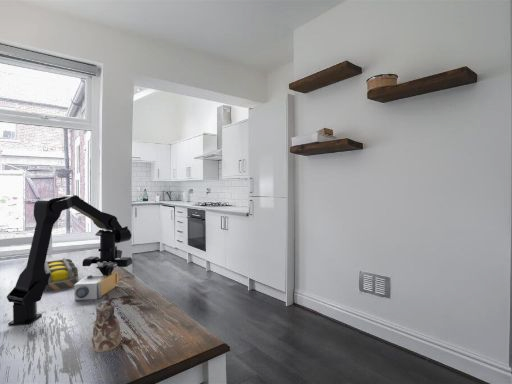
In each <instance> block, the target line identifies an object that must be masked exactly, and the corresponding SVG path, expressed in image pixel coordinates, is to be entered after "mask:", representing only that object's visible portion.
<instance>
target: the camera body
mask: <svg viewBox="0 0 512 384" xmlns="http://www.w3.org/2000/svg"><path fill="white" fill-rule="evenodd" d="M106 277H107V276H103V275H91V274H90V275H87V276H85V277H83V278H82V279H80V280H78V282H77V283H76V284H74V286H73V287H74V288H73V290H74V292H73V293H74V295H73V296H74V301H82V300H85V301H86V300H97V299H99V298H98V282H99V281H101V280H103V279H104V278H106Z"/></svg>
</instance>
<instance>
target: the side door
mask: <svg viewBox="0 0 512 384" xmlns="http://www.w3.org/2000/svg"><path fill="white" fill-rule="evenodd" d="M119 275H120V274H119V273H118V271H114V272H112V274H111V275H109V276H107V277H106V278H104V279H103V280H101V281H99V282H98V298H97V299H102V296H104V295H105V294H107V293H108V292H110V291H111V290H112V289H113V288H114V289H115V287H116V286H118V284H119V281H120V279H119V277H120V276H119Z"/></svg>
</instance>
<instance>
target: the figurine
mask: <svg viewBox="0 0 512 384" xmlns="http://www.w3.org/2000/svg"><path fill="white" fill-rule="evenodd" d="M112 301H113V298H112V297H108V298H107V300H104V301H100V303H98V305H97V307H96V308H95V312H96V317H95V318H96V319H95V320H94V321H93V330H92V337H91V338H92V339H91V345H92V350H93V352H98V353H102V352H107V351H110V350H111V351H112V350H113V349H115V348H117V347H118V346H119V345H120V343H121V341H122V332H121V326H120V322H119V319H118V317H117V316H116V315H115V306H114V305H112Z"/></svg>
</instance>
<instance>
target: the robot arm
mask: <svg viewBox="0 0 512 384" xmlns="http://www.w3.org/2000/svg"><path fill="white" fill-rule="evenodd" d="M70 208H71V209H73V210H74V211H77V213H80V214H82V215H83V216H85V217H87V219H90V220H91V221H92V222H93V224H94V225H95V226H96V227H97V228H98V229H99V230H98V231H97V232H96V233H95V234H94V235H95V236H97V237H99V248H98V252H100V253H99V256H88V257H85V258H84V259H83V260H82V267H90V266H91V265H92V264H95V265H97V266H96V269H98V270H99V271H100V273H101V274H102V276H109V275H111V274H112V273H113V271H114V269H115V268H117V267H118V268H128V267H129V266H130V265H132V264H133V258H132V257H128V256H125V257H124V256H123V257H122V254H123V250H120V249H118V246H116V244H120V243H124V242H128V241H131V238H132V233H131V231H130V229H129V227H128V226H127V225H123V226H122V225H121V224H120V222H119V221H118V217H117V216H116V215H113V214H110V213H107V212H104V211H101V210H100V209H98V208H96V207H95V206H93V205H91V204H90V203H89V202H87V201H85V200H84V199H82V198H81V197H79V196H78V195H76V194H67V195H64V196H59V197H54V198H39V199H38V200H37V201H35V202H34V204H33V217H34V220H35V228H34V232H33V237H32V241H31V245H30V250H29V254H28V259H27V263H26V266H25V267H24V269H23V271H21V272H20V274H19V276H18V279H17V281H16V283H15V286H14V287H13V288H12V290H11V291H10V292H9V293H8V294H7V295H6V299H7V301H8V302H9V303H13V304H12V314H13V315H12V317H13V319H12V320H10V321H9V322H8V323H7V325H8V326H14V325H15V326H16V325H30V324H31V323H33V322H34V321H36V320H37V319H39V318H40V317H41V316H42V315H43V314H42V313H38V307H37V304H38V303H37V302H40V301H41V300H42V297H43V294H44V292H46V291H45V289H46V286H48V285H49V284H48V280H49V278H50V273H47V272H45V268H44V266H45V261H47V256H48V252H49V247H50V242H51V237H52V233H53V228H54V225H55V223H57V221H58V220H59V218H60V217H61V214H62V212H63V211H64V210H65V211H66V210H68V209H70Z"/></svg>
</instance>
